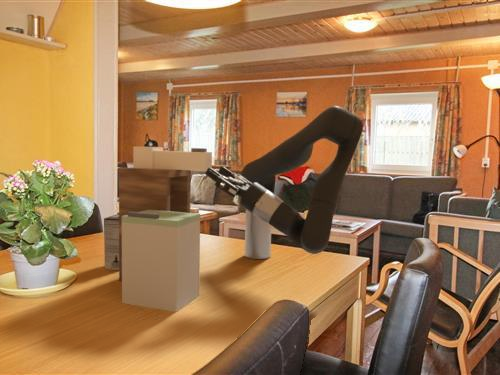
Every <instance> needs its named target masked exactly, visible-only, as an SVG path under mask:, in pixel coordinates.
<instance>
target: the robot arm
mask: <svg viewBox="0 0 500 375" xmlns="http://www.w3.org/2000/svg"><path fill="white" fill-rule="evenodd" d="M363 127H364V124H363V120H362V119H361V117H360V116H357V114H355V113H352V112H351V111H349V110H348V109H346V108H343V107H342V106H338V105H332V106H329V107H326V109H324V110H323V111H322V112H320V113H319V114H318V115H317V116H316V117H315V118H313V120H312V121H311V122H309V123H308V124H307V125H306V126H305V127H303V128H302V129H301V130H299V131H298V132H296V133H294V135H291V136H290V137H289V138H287V139H286V140H284V141H282V142H281V143H279V144H278V145H277V146H276V147H274V148H273V149H271V150H270V151H268V152H267V153H264V154H263V155H262V156H261V157H258V158H257V159H255V160H252V161H250V162H249V163H247V164H246V165H244V166H243V168H242V169H241V173H236V172H232V171H231V170H229V169H228V168H226V167H225V166H221V167H220V168H219V170H218V171H217V170H215V169H213V167H212V168H208V169H207V171H205V173H204V174H205V175H206V177H208V178H209V179H211V180H213V181H214V182H215V183H214V186H215V187H217V188H218V189H220V190H221V191H223V192H224V193H226V194H227V195H229V196H230V197H232V198H234V197H235V196H238V197H240V199H241V200H240V202H239V203H240V204H239V205H240V206H241V207H242V208H244V209H245V223H244V224H245V225H244V226H245V228H244V257H245V258H248V259H253V260H263V259H269V258H270V257H271V253H272V252H271V251H272V250H271V247H272V227H273V228H274V229H276V230H277V231H279V232H281V233H282V234H284V235H285V236H287V237H288V238H289V239H290V240H291V241H292V242H293V243H295V245H297V246H298V247H299V248H301V249H302V250H303V251H305V252H307V253H308V254H312V255H313V254H314V255H317V254H320V253H322V252H323V251H325V249H326V248H327V246H328V244H329V241H330V237H331V233H332V227H333V220H334V219H333V218H334V216H335V213H336V209H337V205H338V201H339V196H340V192H341V189H342V186H343V182H344V179H345V177H346V174H347V171H348V169H349V166H350V165H351V161H352V159H353V157H354V155H355V152H356V149H357V147H358V145H359V142H360V139H361V137H362V134H363ZM323 139H325V140H328V141H329V142H331V143H334V144H336V145H337V151H336V153H335V154H336V155H335V157H334V159H333V160H332V162H330V164H329V165H328V166H327V167H326V168H325V169H323V171H322V172H321V173H320V174H319V175H318V176H317V178H316V180H315V181H314V184H313V186H312V190H311V193H310V198H309V202H308V209H307V213H306V217H305V218H304V217H302V215H301V214H300V212H299V211H297V210H296V209H295V207H292V206H291V205H289V204H288V203H287V202H285V201H284V200H282V199H281V197H279V196H278V195H276V194H275V192H276V191H275V190H276V189H275V188H276V176H277V175H281V174H286V173H289V172H292V171H294V170H297V169H298V168H300V167H302V166H304V165H305V164H307V162H308V161H310V159H311V156H312V155H313V154H312V153H313V150H314V144H316V143H317V142H318V141H321V140H323ZM222 182H223V183H222Z"/></svg>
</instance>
